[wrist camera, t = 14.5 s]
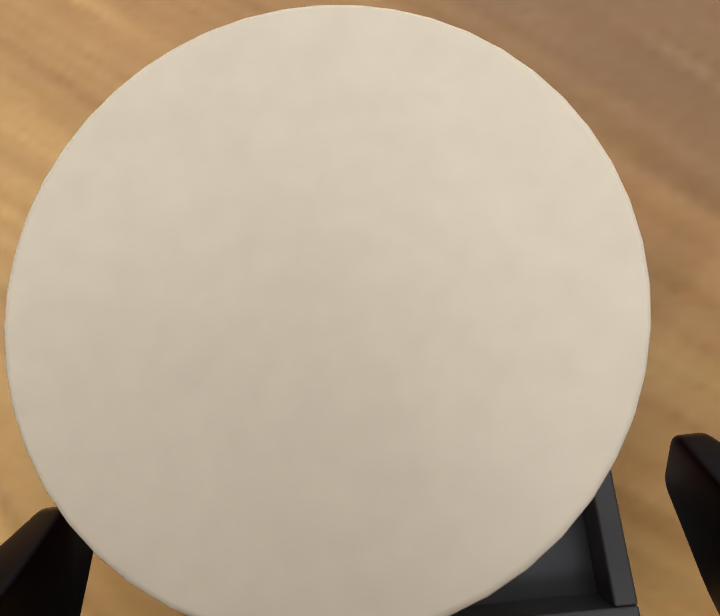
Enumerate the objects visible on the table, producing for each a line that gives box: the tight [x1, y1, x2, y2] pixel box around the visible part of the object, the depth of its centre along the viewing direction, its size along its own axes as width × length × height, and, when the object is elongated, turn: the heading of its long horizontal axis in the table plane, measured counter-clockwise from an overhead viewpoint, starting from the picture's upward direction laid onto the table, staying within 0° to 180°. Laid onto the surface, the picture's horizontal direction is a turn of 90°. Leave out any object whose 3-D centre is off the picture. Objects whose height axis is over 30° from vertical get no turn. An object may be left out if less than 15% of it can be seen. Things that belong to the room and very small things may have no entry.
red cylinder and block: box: [4, 5, 651, 616], centre depth 12 cm, size 9×7×12 cm
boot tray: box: [450, 469, 640, 616], centre depth 18 cm, size 16×12×2 cm
